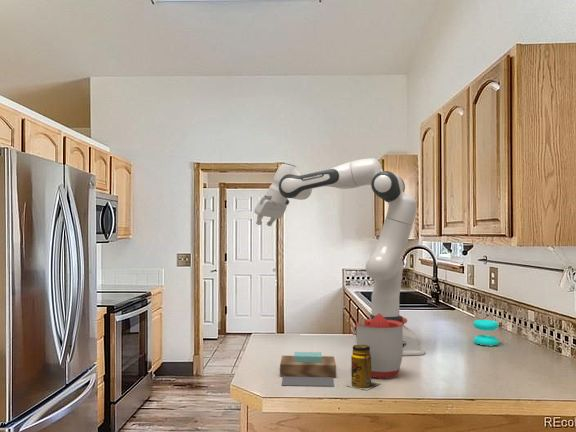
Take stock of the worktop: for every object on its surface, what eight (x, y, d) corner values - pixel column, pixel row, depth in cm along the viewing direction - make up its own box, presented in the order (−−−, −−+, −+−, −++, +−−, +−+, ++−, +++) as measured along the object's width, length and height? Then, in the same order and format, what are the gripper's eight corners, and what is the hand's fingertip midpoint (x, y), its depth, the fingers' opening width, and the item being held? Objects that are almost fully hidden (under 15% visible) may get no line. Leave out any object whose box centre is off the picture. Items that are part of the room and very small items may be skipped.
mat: (332, 378, 157) (332, 377, 157) (334, 386, 148) (334, 385, 148) (283, 377, 158) (283, 376, 158) (281, 385, 149) (281, 384, 149)
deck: (334, 368, 169) (334, 356, 170) (335, 377, 157) (335, 365, 158) (282, 367, 170) (282, 355, 170) (280, 376, 158) (280, 364, 158)
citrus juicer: (366, 364, 174) (366, 308, 175) (411, 373, 163) (411, 313, 164) (342, 373, 162) (342, 313, 163) (389, 384, 151) (389, 318, 152)
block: (321, 358, 167) (321, 352, 167) (321, 362, 161) (321, 356, 161) (294, 357, 167) (294, 351, 167) (294, 362, 161) (294, 356, 161)
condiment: (345, 386, 149) (345, 346, 150) (360, 380, 156) (360, 341, 156) (366, 390, 145) (366, 349, 145) (380, 384, 151) (380, 345, 152)
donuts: (468, 319, 213) (486, 318, 216) (468, 343, 212) (486, 341, 216) (484, 323, 203) (503, 322, 207) (485, 347, 203) (504, 346, 206)
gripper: (269, 197, 209) (256, 226, 210) (291, 202, 227) (279, 229, 228) (258, 191, 211) (245, 220, 213) (280, 196, 229) (269, 223, 231)
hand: (263, 225), depth 221 cm, fingers open, 8 cm apart
